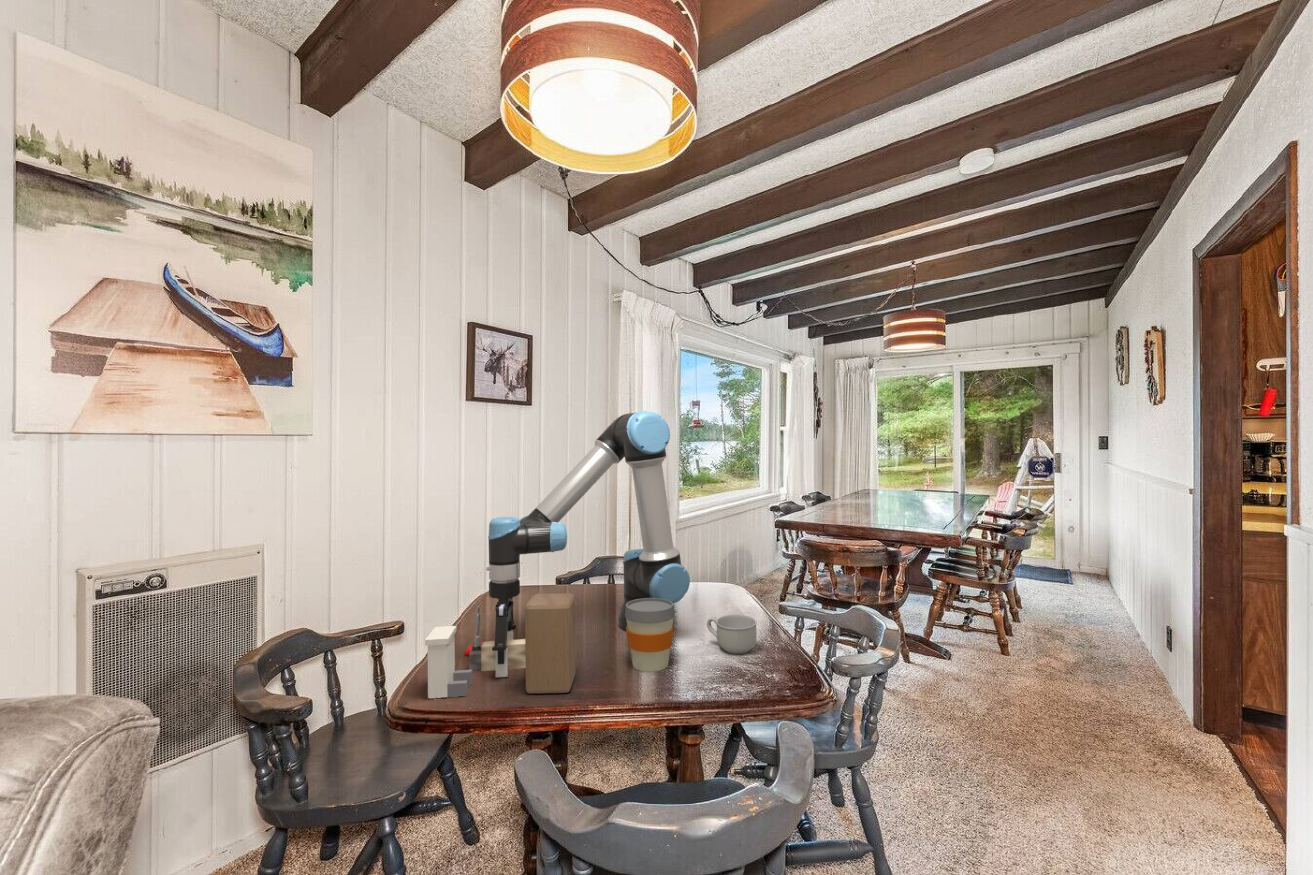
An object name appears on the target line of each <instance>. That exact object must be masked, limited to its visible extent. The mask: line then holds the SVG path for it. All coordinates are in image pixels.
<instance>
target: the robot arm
mask: <svg viewBox="0 0 1313 875" xmlns="http://www.w3.org/2000/svg"><path fill="white" fill-rule="evenodd" d="M670 437H671V431H670V427H669V424H668V423H667V421H666V420H665V418H664V417H663V416H661V415H660V414H658V413H656V412H655V411H654V412H653V411H647V410H640V411H638V412H629V413H624V414H622V415H620V416H618V417H617V418H616V419H614V421H612V423H610V425H608V426H607V428H606V429H605V430H604V431H603V432H602V433H601V434H600V435H599V437H597V438H596V439H595V441H594V446H593V447H592V449H591V450H589V451H588V453H587V454H585V456H584V457H583V458H582V459H581V460H580V461H579V462H578V463H577V464H576V466H574V467H573V468H572V470H571V471H570V472H568V473H567V475H565V476H564V478H563V479H562V480H560V482H558V484H557V485H556V486H555V487H554V489H552V490H551V492H549V494H548V495H547V496H546V497H545V498H544V499H543V500H542V501H541V502H540V503H538V505H537V506H536V507H535V508H534V509H533V510H532V511H531V512H530V513H529V514H528V515H526V516H524V517H522V518H518V517H517V516H516V517H515V516H501V517H494V518H492V519H491V520H489V524H488V537H487V538H488V566H487V567H486V571H488V580H489V582H488V596H489V597H490V598H492V599H497V602H496V604H495V627H494V628H495V630H494V641H495V645H494V647H492V651H495V665H496V670H495V678H506V677H507V678H508V673H509V672H508V670H509V669H508V657H507V640H514V630H517V625H516V624H515V620H514V601H513V598H516V597H517V596H519V595H520V592H521V580H520V577H521V561H520V556H521V555H527V554H531V555H532V554H542V553H555V552H560V551H561V552H562V551H563V550H565V549H566V547H567V545H568V531H567V527H566V525H565V524H564V522H561V520H562V519H563V518H564V517H565V516H566V515H567V514H568V513H569V512H570V511H571V510H572V508H573V507H574V506H575V505H576V504H577V503H578V502H579V501H580V500H581V499H582V498H583V497H584V496H585V495H586V494H587V493H588V491H590V489H591V488H592V487H593V486H594V485H595V484H596V483H597V482H598V481H599V480H600V479H601V477H602V476H604V475H605V473H606V472H607V471H608V470H609V469H610V468H611V467H612V466H613V465H614V464H619V463H620V462H621V461H622V460H623V459H624V461H625V463H626V464H627V465H628V466H629V467H631V471H632V480H633V485H634V493H635V498H636V501H635V502H636V507H637V514H638V521H639V528H640V534H641V542H642V548H638V549H637V548H636V549H630V550H629V549H628V550H626V551H625V552H624V554H623V561H622V564H623V603H622V606H621V609H620V612H619V616H618V627H619V628H620V629H622V630H624V631H626V627H627V619H626V618H625V609H626V604H627V603H628V602H630V601H632V600H636V599H642V598H660V599H666V600H669V601H671V602H673V604H677V603H678V602H680V601H681V600H682V599H683V598H684V597H685V595H686V594H687V593H688V592H689V591H688V590H689V587H690V583H691V580H690V573H689V572H688V570H687V569H686V567H685V566H683V565H682V561H681V555H680V554H681V553H680V550H679V549H677V548H676V547H675V546H674V544H673V543H674V542H673V534H672V527H671V521H670V511H669V506H668V498H667V497H668V496H667V491H666V484H665V476H664V469H663V462H664V461H665V459H666V458H667V451H666V447H667V445H668V444H669V442H670V439H671V438H670ZM498 644H503V645H498Z"/></svg>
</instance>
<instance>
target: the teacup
mask: <svg viewBox="0 0 1313 875" xmlns="http://www.w3.org/2000/svg"><path fill="white" fill-rule="evenodd" d="M712 622H714V623H715V625H716V630H715V629H714V628H713V626H712ZM757 623H758V622H757V619H755V618H754V617H753V616H750V615H746V614H742V613H741V614H739V613H730V614H725V615H722V616H719V617H718V618H717V617H715V616H711V617H709V618H708V619H707V621H706V628H707V629H708V631H709V632H710V633H711V634H712V635H713V636H714V637H716V639H717V643H718V645H719V647H721V649H723V651H725V652H727V653H730V654H734V655H742V654H746V653H748V652H749V651H750V650H751V649H753V648H754V647H755V645H756V643H757V625H758V624H757Z"/></svg>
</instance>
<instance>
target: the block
mask: <svg viewBox="0 0 1313 875" xmlns="http://www.w3.org/2000/svg"><path fill="white" fill-rule="evenodd" d="M524 612H525V613H524V618H525V620H524V627H525V628H524V629H525V631H524V632H525V635H524V636H525V637H524V639H525V654H526V668H525V690H526V693H527V694H530V695H531V694H564V693H565V694H568V693H569V692H571V688H572V686H573V682H574V679H575V675H576V626H575V623H576V622H575V620H576V619H575V613H576V612H575V596H574V594H573V593H570V592H569V593H567V592H566V593H536V594H533V595H532V596H531V598H530V599H529V600H528V601H527V603H526V605H525V607H524Z"/></svg>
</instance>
